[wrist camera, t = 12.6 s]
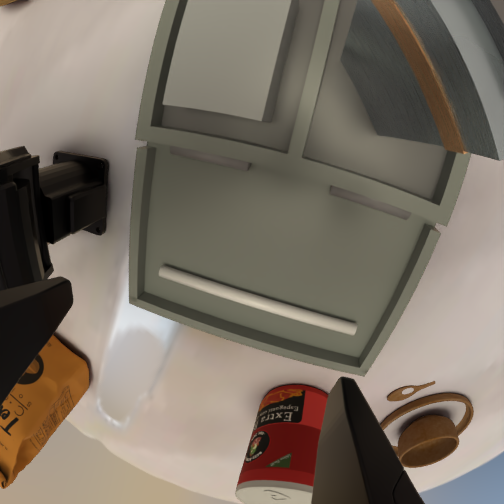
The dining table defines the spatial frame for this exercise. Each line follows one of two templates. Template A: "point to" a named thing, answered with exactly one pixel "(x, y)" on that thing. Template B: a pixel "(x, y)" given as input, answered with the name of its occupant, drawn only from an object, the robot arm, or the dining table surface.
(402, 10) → the block
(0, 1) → the bread roll
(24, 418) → the coffee package
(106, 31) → the dining table surface
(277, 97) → the case
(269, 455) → the canned food
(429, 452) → the place setting
